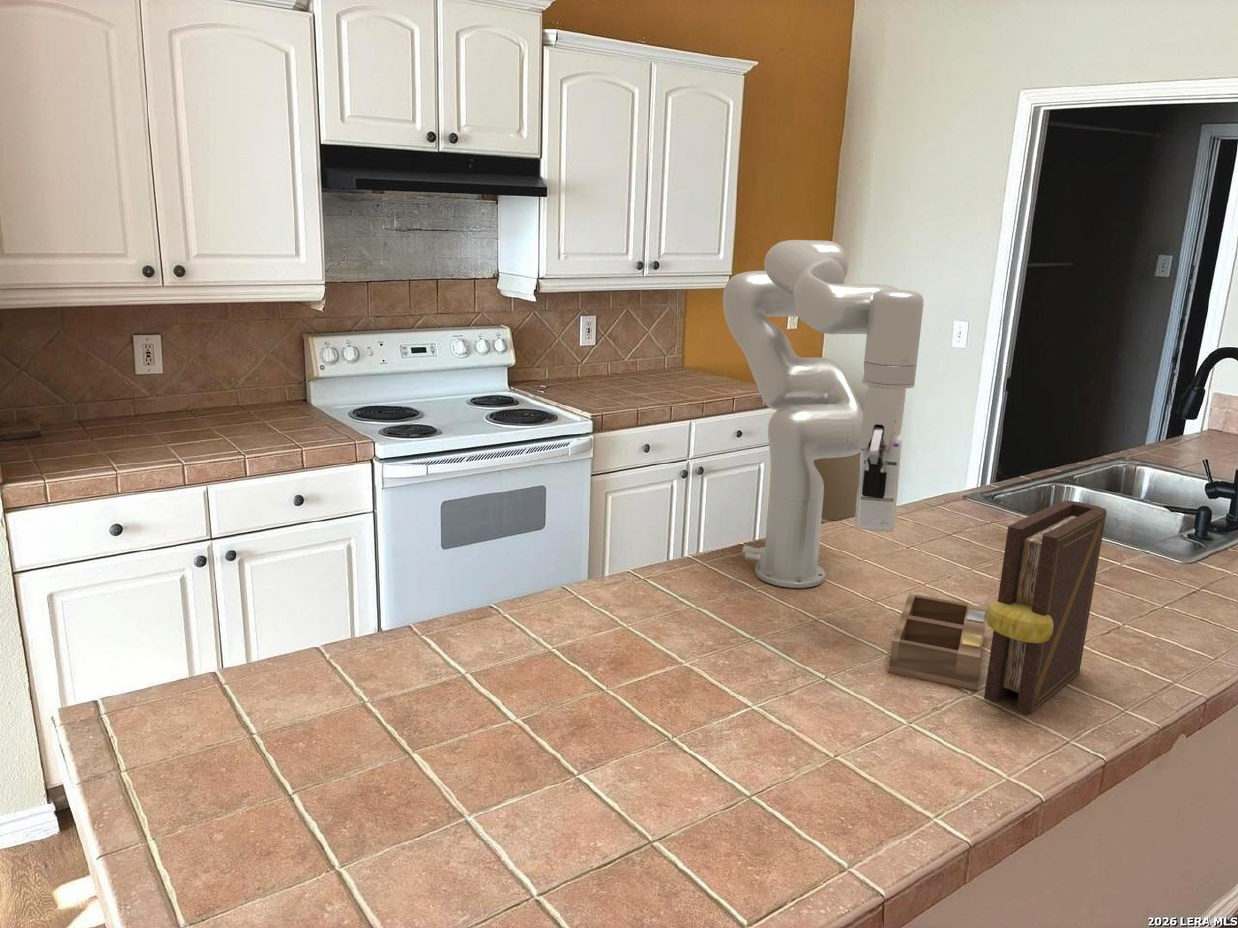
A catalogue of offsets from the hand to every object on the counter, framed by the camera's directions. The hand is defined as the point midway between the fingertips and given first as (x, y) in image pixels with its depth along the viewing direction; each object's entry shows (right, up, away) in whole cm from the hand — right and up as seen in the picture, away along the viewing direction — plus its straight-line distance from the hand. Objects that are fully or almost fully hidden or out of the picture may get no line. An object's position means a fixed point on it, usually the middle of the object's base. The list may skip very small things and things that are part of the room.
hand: (876, 489), depth 145 cm
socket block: (+9, -25, -1) cm, 26 cm away
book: (+19, -28, -11) cm, 35 cm away
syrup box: (0, -6, +2) cm, 6 cm away
